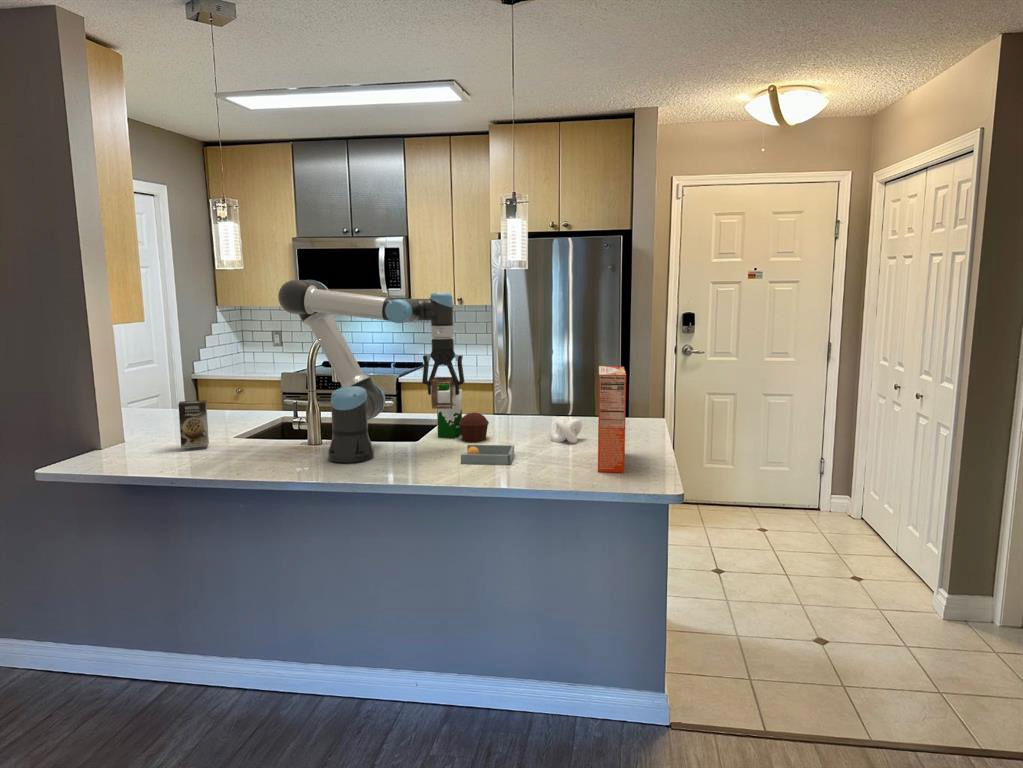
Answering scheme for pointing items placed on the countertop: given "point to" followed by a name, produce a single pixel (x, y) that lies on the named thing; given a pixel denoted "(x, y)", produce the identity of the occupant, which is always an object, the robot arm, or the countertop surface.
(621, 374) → the cereal box
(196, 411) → the brown tall box
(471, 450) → the ball
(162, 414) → the countertop surface
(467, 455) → the u-shaped frame
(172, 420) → the countertop surface
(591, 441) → the countertop surface
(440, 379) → the open box frame
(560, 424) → the white knot sculpture
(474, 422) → the muffin
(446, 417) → the milk carton
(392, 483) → the countertop surface
